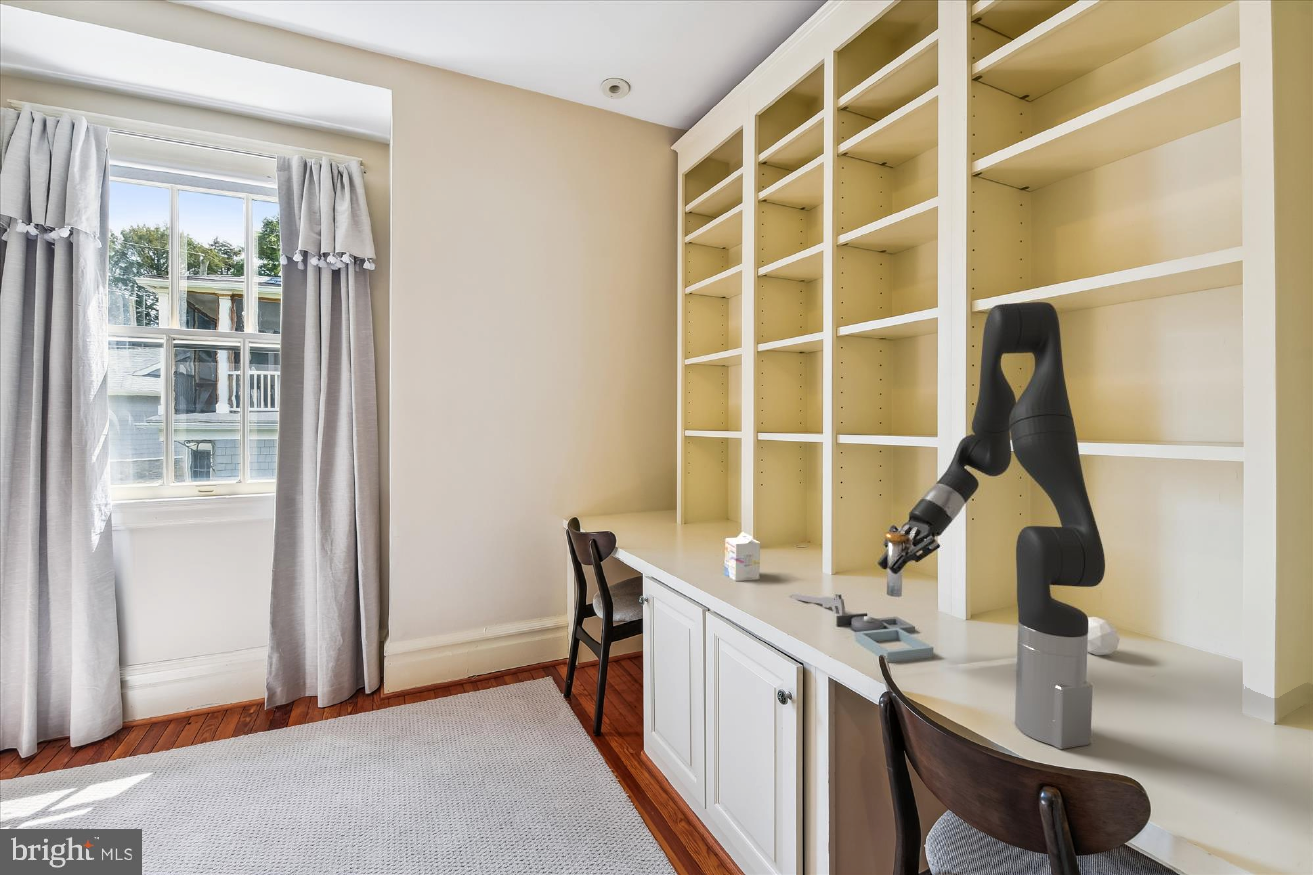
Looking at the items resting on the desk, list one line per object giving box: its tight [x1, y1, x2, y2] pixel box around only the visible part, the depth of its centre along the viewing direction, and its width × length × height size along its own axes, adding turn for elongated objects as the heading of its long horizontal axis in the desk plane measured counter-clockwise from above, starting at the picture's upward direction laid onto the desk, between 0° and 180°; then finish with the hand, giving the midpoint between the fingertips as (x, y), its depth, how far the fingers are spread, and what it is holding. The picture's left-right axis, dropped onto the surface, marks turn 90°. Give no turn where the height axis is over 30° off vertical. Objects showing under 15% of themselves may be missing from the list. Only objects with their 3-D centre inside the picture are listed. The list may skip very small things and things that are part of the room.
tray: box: [854, 628, 934, 663], centre depth 121 cm, size 11×11×3 cm
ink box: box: [724, 531, 761, 582], centre depth 178 cm, size 9×8×13 cm
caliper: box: [788, 592, 846, 615], centre depth 150 cm, size 20×1×6 cm, turn 26°
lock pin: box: [883, 531, 907, 598], centre depth 121 cm, size 4×4×13 cm
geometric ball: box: [1087, 616, 1120, 656], centre depth 122 cm, size 8×8×8 cm
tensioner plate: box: [835, 612, 920, 635], centre depth 132 cm, size 9×16×4 cm, turn 104°
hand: (886, 568), depth 120 cm, fingers closed on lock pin, 3 cm apart
